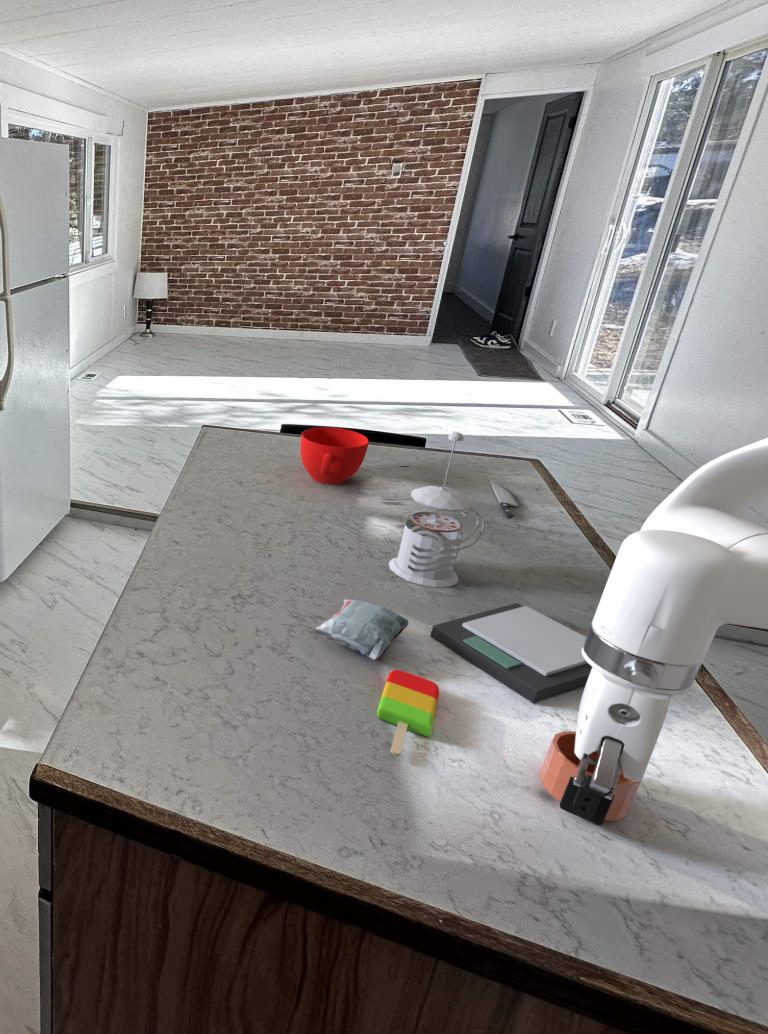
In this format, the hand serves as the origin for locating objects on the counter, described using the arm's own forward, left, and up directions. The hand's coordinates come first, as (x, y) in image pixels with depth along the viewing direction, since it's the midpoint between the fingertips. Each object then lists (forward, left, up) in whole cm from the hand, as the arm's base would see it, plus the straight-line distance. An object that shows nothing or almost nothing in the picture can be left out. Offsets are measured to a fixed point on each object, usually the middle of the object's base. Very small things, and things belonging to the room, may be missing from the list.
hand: (582, 789), depth 67 cm
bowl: (0, 0, -1) cm, 1 cm away
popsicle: (+8, -14, -1) cm, 16 cm away
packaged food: (+1, -28, -1) cm, 28 cm away
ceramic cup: (-36, -73, -1) cm, 81 cm away
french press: (-24, -38, -1) cm, 45 cm away
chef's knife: (-60, -52, -1) cm, 80 cm away
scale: (-17, -18, -1) cm, 25 cm away
